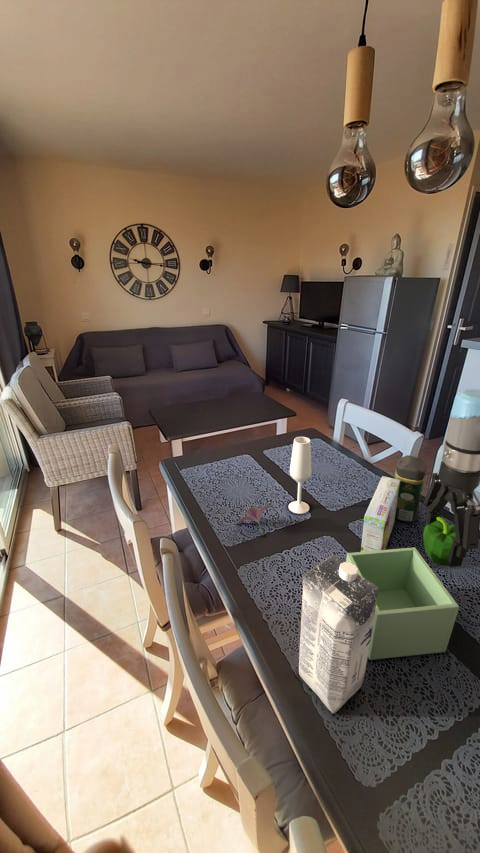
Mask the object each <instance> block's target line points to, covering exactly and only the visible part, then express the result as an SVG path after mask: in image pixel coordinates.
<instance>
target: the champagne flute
mask: <svg viewBox="0 0 480 853" xmlns="http://www.w3.org/2000/svg"><path fill="white" fill-rule="evenodd" d="M311 447H312V446H311V439H310V438H309V437H306V436H296V437H295V438H294V439H293V444H292V450H291V451H292V452H291V458H290V465H289V475H290V477H291V478H292V479H293V480H294V481H296V482H297V500H295V501H291V502H290V503H289V504H288V509H289V511H290V512H292V513H294V514H297V515H298V514H299V515H302V514H305V513H307V512H309V511H310V506H309V504H308V503H306V502H304V501H302V489H303V483H304V482H306V481H307V480H309V479H310V478H311V476H312V474H313V471H312V453H311V452H312V451H311V450H312V449H311Z"/></svg>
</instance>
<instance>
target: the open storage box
mask: <svg viewBox="0 0 480 853" xmlns="http://www.w3.org/2000/svg"><path fill="white" fill-rule="evenodd" d="M345 559H346V560H345V562H348V563H349V562H350V563H352V564H353V565H355V566H356V567H357V569H358V573H357V574H358V575H360V576H362V577H363V578H365V579H367V580H368V581H370V582H372V583H373V584H375V585H376V586H377V587H378V596H377V601H376V609H375V616H374V622H373V628H372V634H371V640H370V646H369V651H368V657H367V659H368V660H369V661H373V660H382V659H390V658H400V657H411V656H420V655H430V654H437V653H439V654H441V653H446V652H447V649H448V645H449V642H450V639H451V636H452V632H453V629H454V626H455V623H456V619H457V615H458V612H459V609H460V606H459V604H458V603H457V601H456V600H455V599H454V598H453V596H452V595H451V594H450V592H449V591H448V589H447V588H446V587H445V586H444V585H443V583H442V582H441V580H440V578H438V576H437V575H436V574H435V572H434V571H433V569H432V568H431V567H430V565H429V564H428V563H427V561H426V560H425V559H424V557H423V556H422V555H421V553H420V552H419V550H418V549H417V548H416V547H415V546H414V547H404V548H403V547H402V548H390V549H385V550H378V551H366V552H361V551H357V552H347V553H346V558H345Z"/></svg>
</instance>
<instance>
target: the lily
mask: <svg viewBox="0 0 480 853" xmlns="http://www.w3.org/2000/svg"><path fill="white" fill-rule="evenodd" d="M271 507H274V504H271V503H269V504H266V505H264V506H262V507H260V508H259V507H258V506H252V507H250V508H248V509H247V510H246V513H245V516H243V517H241V518H239V519H238V520H237V521H236V523H237V522H238V523H237V524H238V525H239V524H241V523H243V522H244V521H247V520H248V521H253V522H256V523H258V526H259V529H260V531H261V534H262V536H264V531H263V529H262V526H261V523H260V520H261V518H262V516H263V515H264V514H263V513H264V512H265V510H268V509H269V508H271Z"/></svg>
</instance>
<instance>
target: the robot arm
mask: <svg viewBox="0 0 480 853" xmlns="http://www.w3.org/2000/svg"><path fill="white" fill-rule="evenodd" d="M449 415H450V416H449V419H448V426H447V431H446V437H445V442H444V443H445V444H444V448H443V452H442V457H441V462H440V465H439V469H438V472H433V473H431V481H430V484H429V487H428V489H427V492H426V494H425V497H424V500H423V506H424V507H425V508H426V512H427V513H428V514H427V519H426V526H427V525H428V524H431V523H433V522H435V521H437V517H441V518H442V514H441V513H442V512H443V509H444V508H445V507H446V505H447V504H448V503H449V504H450V510H451V512H452V513H453V518H454V519H453V520H454V526H455V532H456V541H453V543H452V547H451V551H450V555H449V560H448V564H447V565H448V567H449V568H454V567H461V566H462V564H463V560H464V558H465V557H467V553H468V550H473V549H478V548H479V540H480V503H477V502H476V501H475V500H474V499H475V498H474V491H475V490H476V489H477V488H478V487H479V486H480V389H465V390H464V389H463V390H461V391H459V392H458V393H457V394H456V395H455V397H454V400H453V404H452V407H451V410H450V414H449ZM439 522H440V521H439Z"/></svg>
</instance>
